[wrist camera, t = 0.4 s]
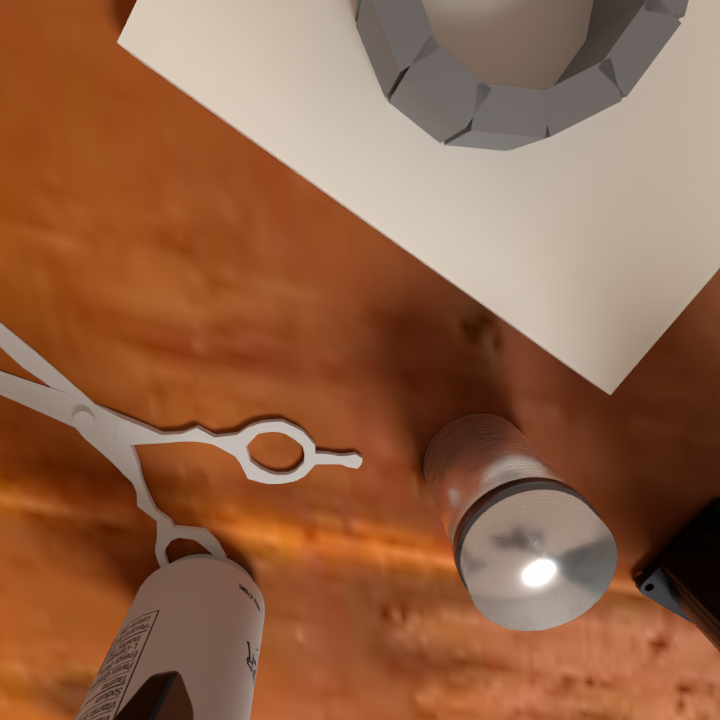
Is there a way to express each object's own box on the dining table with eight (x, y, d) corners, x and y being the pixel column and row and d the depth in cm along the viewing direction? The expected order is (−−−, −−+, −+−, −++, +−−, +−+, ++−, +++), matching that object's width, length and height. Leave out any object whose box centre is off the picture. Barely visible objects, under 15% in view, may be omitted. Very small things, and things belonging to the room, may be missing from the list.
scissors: (230, 611, 23) (-208, 384, 18) (233, 599, 24) (-187, 377, 19) (365, 460, 21) (-85, 153, 16) (363, 452, 22) (-67, 156, 16)
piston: (551, 445, 22) (652, 548, 15) (483, 525, 23) (549, 653, 16) (466, 390, 21) (535, 475, 14) (398, 477, 22) (433, 595, 15)
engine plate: (870, 50, 18) (1046, -2, 13) (590, 382, 21) (659, 426, 17) (408, -500, 12) (454, -874, 8) (135, 57, 16) (66, 0, 11)
